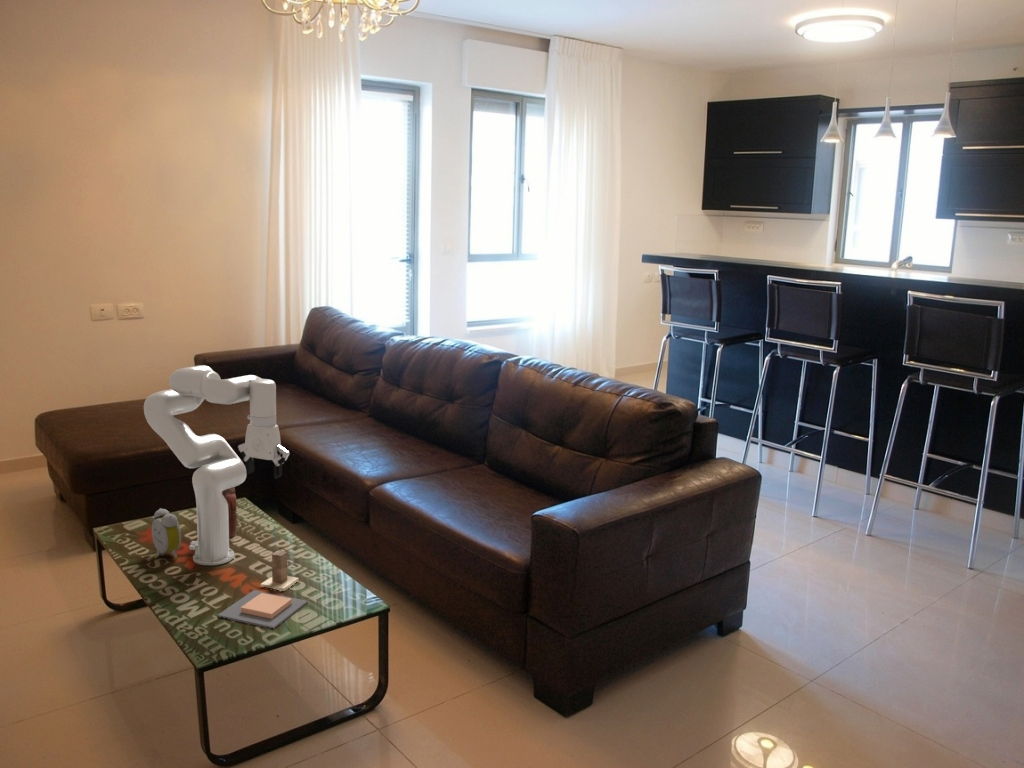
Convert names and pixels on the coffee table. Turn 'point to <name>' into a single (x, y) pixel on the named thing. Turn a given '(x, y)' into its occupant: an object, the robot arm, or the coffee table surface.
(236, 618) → the mat
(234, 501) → the wooden figurine
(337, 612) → the coffee table surface
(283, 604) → the tile
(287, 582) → the square post stand
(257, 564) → the coffee table surface
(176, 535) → the alarm clock
